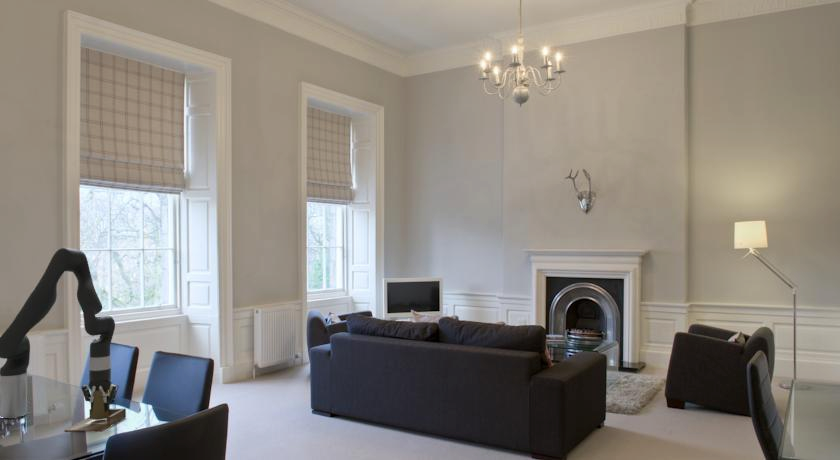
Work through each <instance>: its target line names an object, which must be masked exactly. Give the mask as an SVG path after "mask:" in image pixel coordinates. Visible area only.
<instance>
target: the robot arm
mask: <svg viewBox="0 0 840 460" xmlns="http://www.w3.org/2000/svg"><path fill="white" fill-rule="evenodd" d="M65 272H72V273H73V275H74V276H75V278H76V279H77V290H76V297H77V298H76V299H77V301H78V305H79V306H80V308H81V311H82V314H83V322H84V325H83V326H84V327H83V328H84V330H85V332H86V333H87V334H88V335H90V336H91V337H93V336H99V338H98V339H97V340H94V341H92V342H90V343H89V344H90V345H89V362H88V364H89V366H88V367H89V368H88V370H89V371H88V373H89V375H88V379H89V383H88V384H86V385H85V384H84V385H83V386H81V391H82V395H83V397H84V401H85V402H89V403H90V409H91V411H92V410H93V403H94V398H93V392H94V391H96V390H100V391H101V392H102V393H103V400H104V402H105V403H104V409H105V412H106V411H108V410H109V409H111V407H110V402H112V401H114V400H115V398H116V396H117V391H118V389H119V385H118V384H116V385H115V384H113V383H112V381H111V380H112V368H111V367H112V362H111V360H112V359H111V343H112V340H113V337H114V332H115V329H116V322H115V320H114V318H113V317H112V316H110V315H102V316H96V315H97V314H99V313H101V312H102V311H103V304H102V302H101V299H100V298H99V296H98V294H97V291H96V289H95V286H94V282H93V278H92V274H91V269H90V267H89V261H88V258H87V256H86V253H85V252H83V250H80V249H75V248H70V247H61V248H58V250H56V251H55V253H54V254H53V256H52V258H51V259H50V261H49V263H48V265H47V267H46V269H45V271H44V273H43V275H42V276H41V278H40V279H39V281H38V283H37V285H36V286H35V287H34V289H33V290H32V292H31V293H30V294H29V296H28V297H27V298H26V301H25V302H24V304H23V306H22V307H21V309H20V310H19V311H18V313H17V315H16V317H15V318H14V319H13V320H12V322H11V324H10V325H9V326H8V327H7V328H6V329H5V331H4V332H3V333H2V334H1V336H0V359H3V360H4V359H6V361H5V362H4V364H3V365H2V366H1V367H0V416H1V417H3V418H14V419H16V418H15V417H19V416H23V415H25V414H27V415H28V368H29V366H30V365H29V364H30V359H31V358H30V357H31V355H30V354H31V344H30V339H29V337H28V336H27V335H28V333H29V332H30V331H31V329H33V328H34V327H35V326H36V325H38V324H39V323H40V322H41V321H43V320H44V319H45V317H46V316H47V315H48V314H49V312H50V311H51V309H52V308H53V307H54V305H55V303H56V301H57V294H58V293H57V290H58V289H57V286H58V282H59V280H60V279H61V277H62V276H63V275H64V273H65ZM109 388H111V393H110V396H109ZM90 390H91V392H90ZM105 392H108V393H107V394H105ZM25 416H26V415H25ZM23 417H24V416H23ZM19 418H20V417H19Z"/></svg>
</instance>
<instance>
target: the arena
mask: <svg viewBox="0 0 840 460" xmlns="http://www.w3.org/2000/svg"><path fill="white" fill-rule="evenodd" d="M108 415H109V417H107V418H105V419H99V420H93V419H91V417H92V411H91V408H90V409H89V417H86V418H85V419H83V420H81V421H78V422H77V423H75V424H74V425H71V426H69V427H68V428H66V429H64V432H67V433H71V432H77V433H78V432H81V431H99V432H103V431H105V430H107V429H108V427H109V428H110V427H112V426H113V424H114V425H115V424H117V423H119V422H120V421H122V420H123V418H124V417H127V411H126V408H110V409H109V410H108ZM121 419H122V420H121ZM124 419H125V418H124ZM118 421H119V422H118ZM116 422H117V423H116ZM111 425H112V426H111ZM106 428H107V429H106ZM104 429H105V430H104ZM102 430H103V431H102Z"/></svg>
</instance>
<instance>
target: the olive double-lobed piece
mask: <svg viewBox="0 0 840 460" xmlns="http://www.w3.org/2000/svg"><path fill="white" fill-rule="evenodd" d="M107 393H108V392H105V394H107ZM93 398H94V403H93V410H92V417H91V419H93V420H99V419H105V418H107V417H109V415H108V411H106V412H105V409H104V403H105V402H104V400H103V393H102V392H101V391H100V390H96V391H94V392H93Z"/></svg>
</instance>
